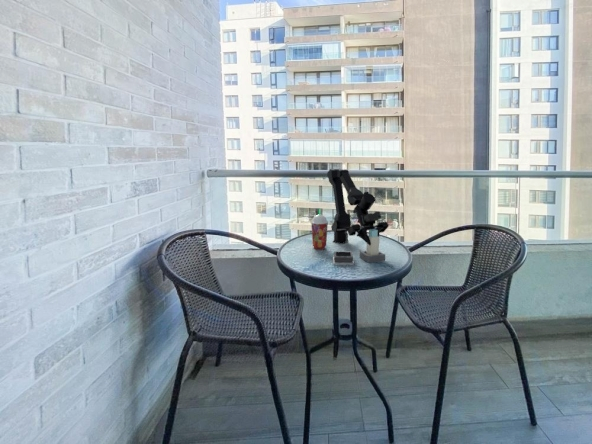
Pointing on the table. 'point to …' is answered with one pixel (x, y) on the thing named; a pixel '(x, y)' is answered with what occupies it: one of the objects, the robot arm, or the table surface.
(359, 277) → the table surface
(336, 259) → the port
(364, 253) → the grey square tray
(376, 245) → the cream bottle
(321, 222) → the smoothie
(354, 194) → the robot arm
